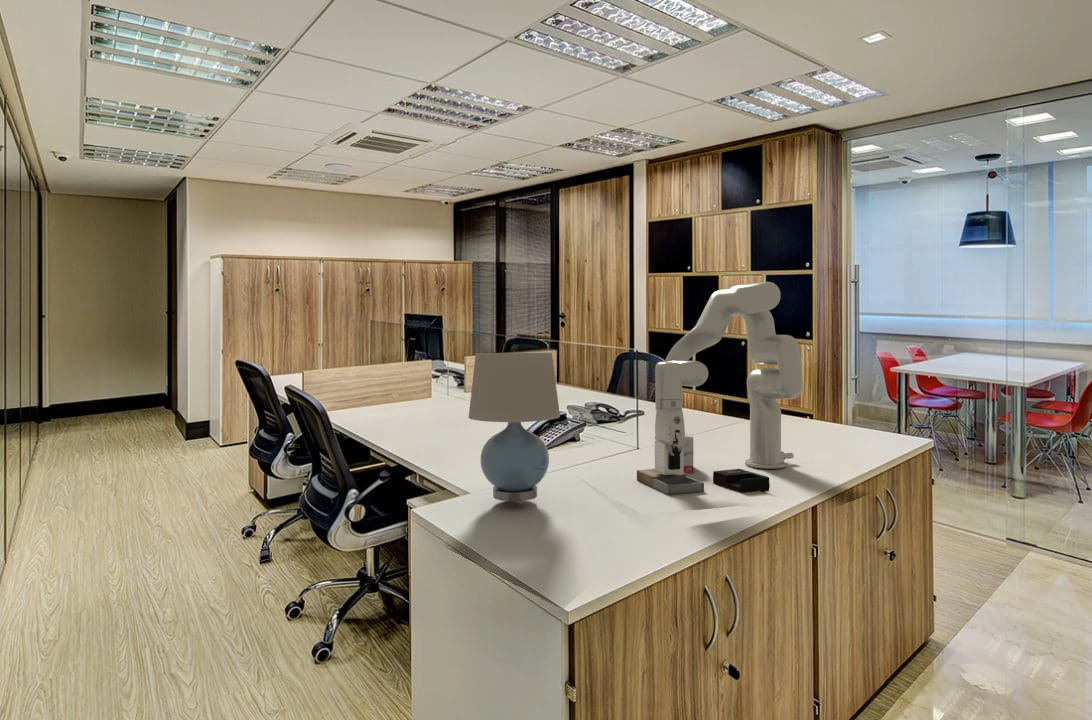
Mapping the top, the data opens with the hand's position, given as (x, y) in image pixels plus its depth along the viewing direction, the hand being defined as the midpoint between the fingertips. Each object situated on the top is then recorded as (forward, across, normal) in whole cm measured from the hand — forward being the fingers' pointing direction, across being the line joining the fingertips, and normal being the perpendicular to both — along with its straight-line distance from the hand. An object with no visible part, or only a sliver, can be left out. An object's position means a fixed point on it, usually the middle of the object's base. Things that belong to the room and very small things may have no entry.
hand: (669, 466), depth 176 cm
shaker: (+2, 0, 0) cm, 2 cm away
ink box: (+6, +18, -13) cm, 23 cm away
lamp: (+6, +2, +45) cm, 45 cm away
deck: (+6, +5, 0) cm, 7 cm away
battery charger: (+6, -7, -19) cm, 21 cm away
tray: (+6, -5, 0) cm, 7 cm away
